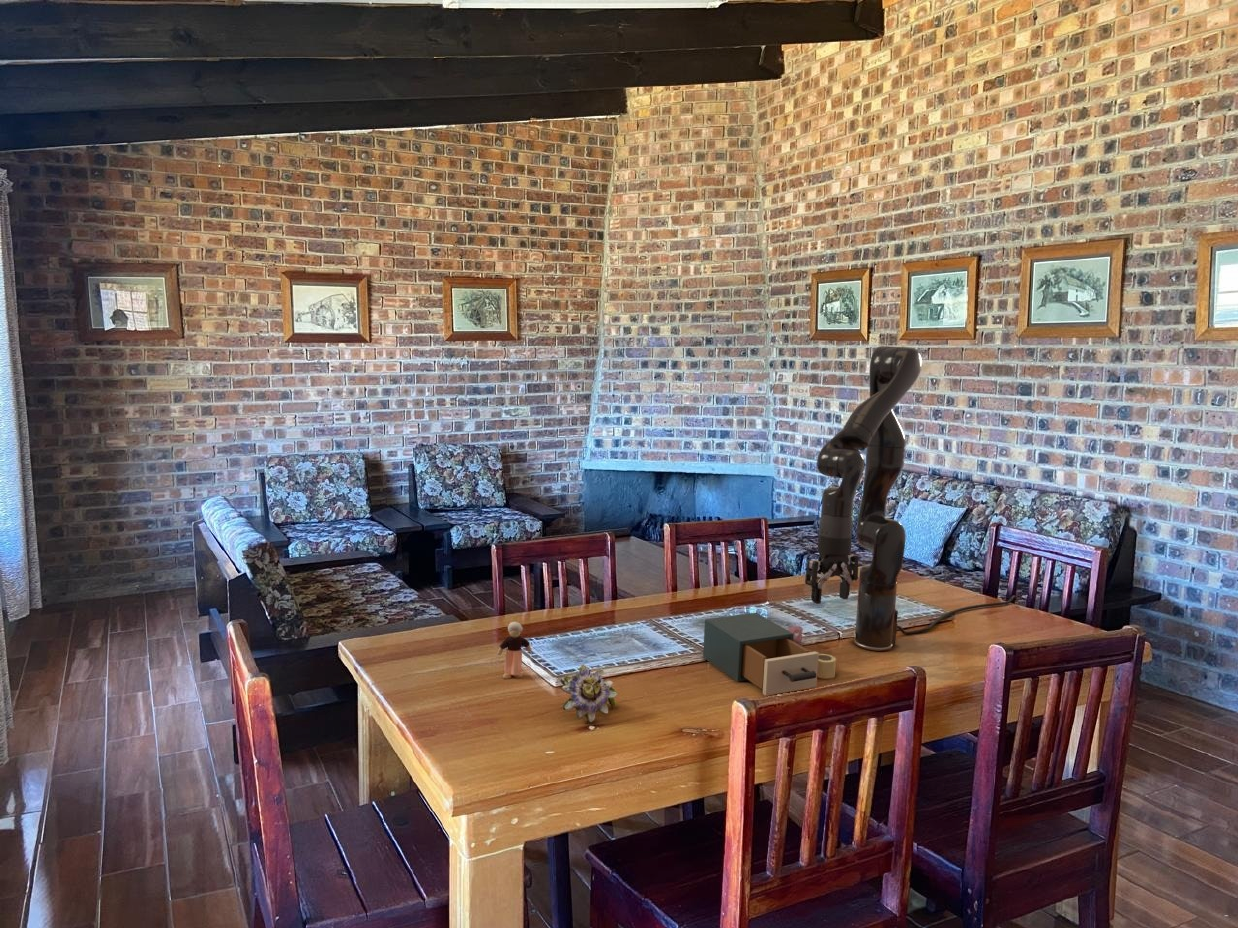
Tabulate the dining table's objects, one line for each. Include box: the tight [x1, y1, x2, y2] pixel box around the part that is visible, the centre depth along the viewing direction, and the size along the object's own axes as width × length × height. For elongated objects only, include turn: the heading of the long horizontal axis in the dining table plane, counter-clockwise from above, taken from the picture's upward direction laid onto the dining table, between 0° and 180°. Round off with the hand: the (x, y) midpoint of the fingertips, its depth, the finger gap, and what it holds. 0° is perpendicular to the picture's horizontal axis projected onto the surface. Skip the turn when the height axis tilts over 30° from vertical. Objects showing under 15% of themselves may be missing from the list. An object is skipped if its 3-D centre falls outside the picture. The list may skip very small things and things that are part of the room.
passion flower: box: [559, 663, 618, 723], centre depth 179 cm, size 11×11×12 cm
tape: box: [817, 653, 837, 680], centre depth 203 cm, size 5×5×4 cm
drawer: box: [741, 638, 820, 697], centre depth 195 cm, size 19×13×8 cm
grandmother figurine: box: [496, 620, 533, 680], centre depth 196 cm, size 8×4×13 cm, turn 117°
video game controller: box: [787, 624, 804, 647], centre depth 218 cm, size 10×5×7 cm, turn 168°
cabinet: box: [702, 612, 794, 683], centre depth 206 cm, size 16×15×10 cm
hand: (830, 600), depth 204 cm, fingers open, 8 cm apart
